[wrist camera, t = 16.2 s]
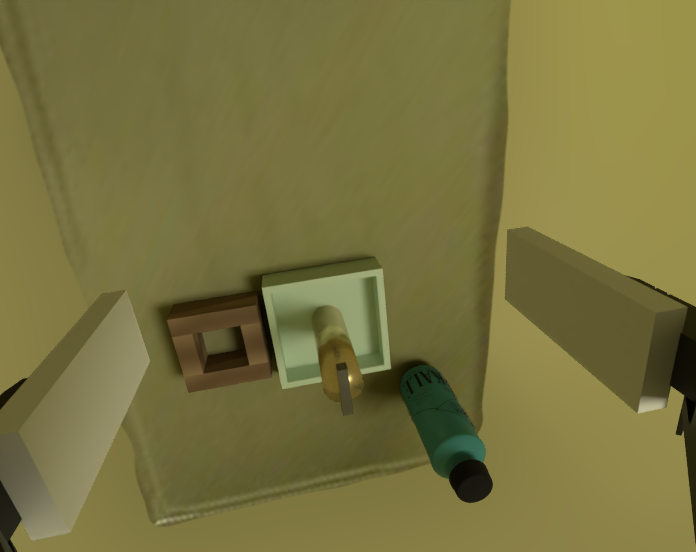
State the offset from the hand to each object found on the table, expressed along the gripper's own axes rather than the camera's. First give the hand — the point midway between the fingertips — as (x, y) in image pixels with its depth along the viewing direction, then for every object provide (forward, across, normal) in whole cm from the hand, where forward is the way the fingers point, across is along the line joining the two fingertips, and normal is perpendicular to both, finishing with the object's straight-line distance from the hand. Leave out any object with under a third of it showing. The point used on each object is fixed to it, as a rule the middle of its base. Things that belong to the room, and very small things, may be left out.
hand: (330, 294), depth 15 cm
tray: (+37, +2, -20) cm, 42 cm away
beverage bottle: (+37, +13, -32) cm, 51 cm away
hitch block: (+37, -12, -20) cm, 43 cm away
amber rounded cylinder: (+36, +2, -20) cm, 41 cm away
